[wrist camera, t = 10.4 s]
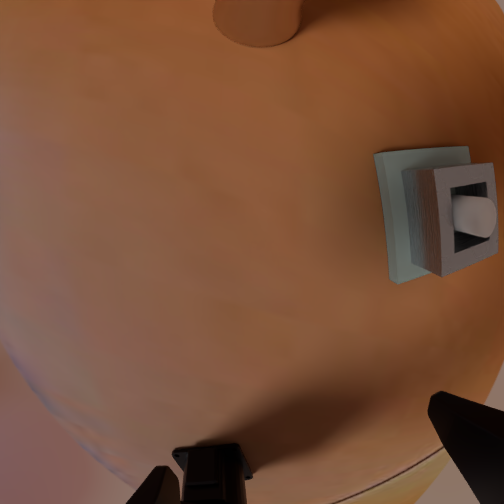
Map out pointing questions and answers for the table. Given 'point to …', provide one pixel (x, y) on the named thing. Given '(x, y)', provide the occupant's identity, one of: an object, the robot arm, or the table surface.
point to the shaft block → (395, 213)
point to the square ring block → (446, 215)
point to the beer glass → (258, 20)
